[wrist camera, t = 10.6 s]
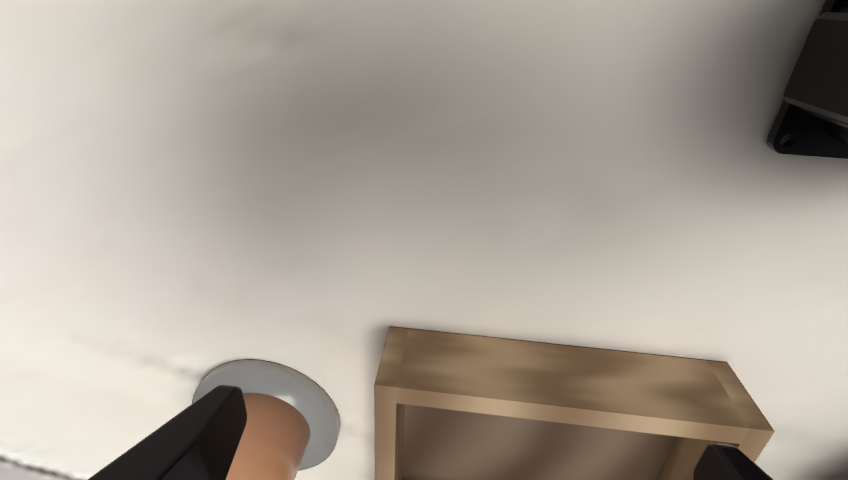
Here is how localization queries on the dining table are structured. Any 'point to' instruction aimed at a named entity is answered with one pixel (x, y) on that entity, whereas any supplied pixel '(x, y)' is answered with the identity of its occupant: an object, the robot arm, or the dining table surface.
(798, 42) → the dining table surface
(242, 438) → the tan cylinder
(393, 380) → the box
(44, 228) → the dining table surface
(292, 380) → the saucer
